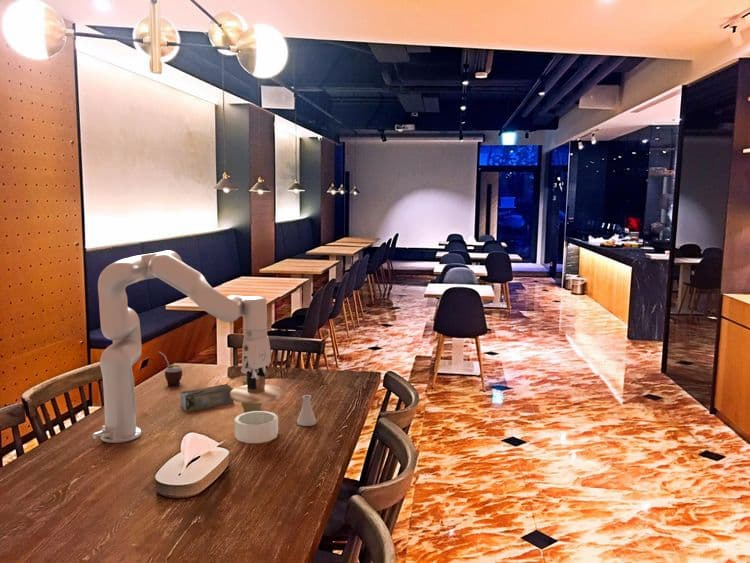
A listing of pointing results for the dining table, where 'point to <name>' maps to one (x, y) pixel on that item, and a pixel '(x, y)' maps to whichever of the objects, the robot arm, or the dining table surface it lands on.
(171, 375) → the mate gourd
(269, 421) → the bowl
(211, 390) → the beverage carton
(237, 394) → the lid
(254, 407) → the squeeze bottle
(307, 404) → the flask
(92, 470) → the dining table surface
